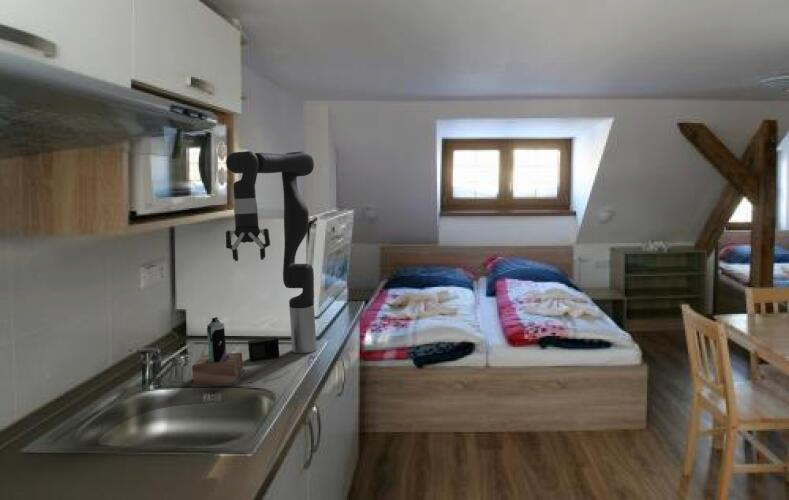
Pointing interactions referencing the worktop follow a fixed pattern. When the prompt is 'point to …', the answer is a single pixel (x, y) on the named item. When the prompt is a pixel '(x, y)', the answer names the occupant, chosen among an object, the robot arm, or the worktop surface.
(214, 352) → the spray can
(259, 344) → the digital camera
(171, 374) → the worktop surface
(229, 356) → the socket block
